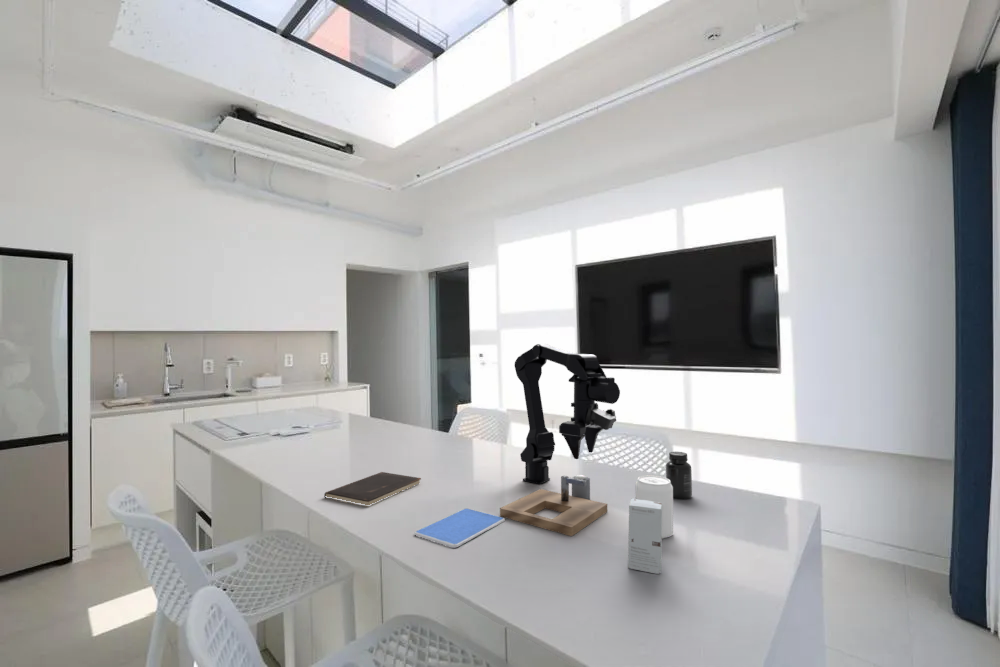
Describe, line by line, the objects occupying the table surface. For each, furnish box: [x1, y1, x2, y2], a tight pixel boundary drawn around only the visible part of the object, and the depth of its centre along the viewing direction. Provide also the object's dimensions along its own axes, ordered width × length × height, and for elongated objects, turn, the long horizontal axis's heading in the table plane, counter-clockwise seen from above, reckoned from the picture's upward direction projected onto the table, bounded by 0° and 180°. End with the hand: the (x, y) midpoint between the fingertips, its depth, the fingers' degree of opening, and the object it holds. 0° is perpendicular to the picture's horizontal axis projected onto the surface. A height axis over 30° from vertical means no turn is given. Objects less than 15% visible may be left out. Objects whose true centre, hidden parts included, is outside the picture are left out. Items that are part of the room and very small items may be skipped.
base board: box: [499, 488, 608, 537], centre depth 116 cm, size 20×19×2 cm
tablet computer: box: [413, 508, 506, 549], centre depth 108 cm, size 19×13×1 cm, turn 146°
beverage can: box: [634, 474, 674, 539], centre depth 105 cm, size 8×8×12 cm
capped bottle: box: [571, 474, 591, 500], centre depth 128 cm, size 5×5×6 cm
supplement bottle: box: [665, 451, 693, 500], centre depth 131 cm, size 7×7×12 cm
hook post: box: [560, 475, 587, 501], centre depth 119 cm, size 7×2×6 cm, turn 53°
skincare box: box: [627, 498, 663, 575], centre depth 89 cm, size 6×4×12 cm
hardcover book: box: [323, 471, 422, 505], centre depth 135 cm, size 16×23×2 cm
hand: (583, 455), depth 128 cm, fingers open, 9 cm apart
